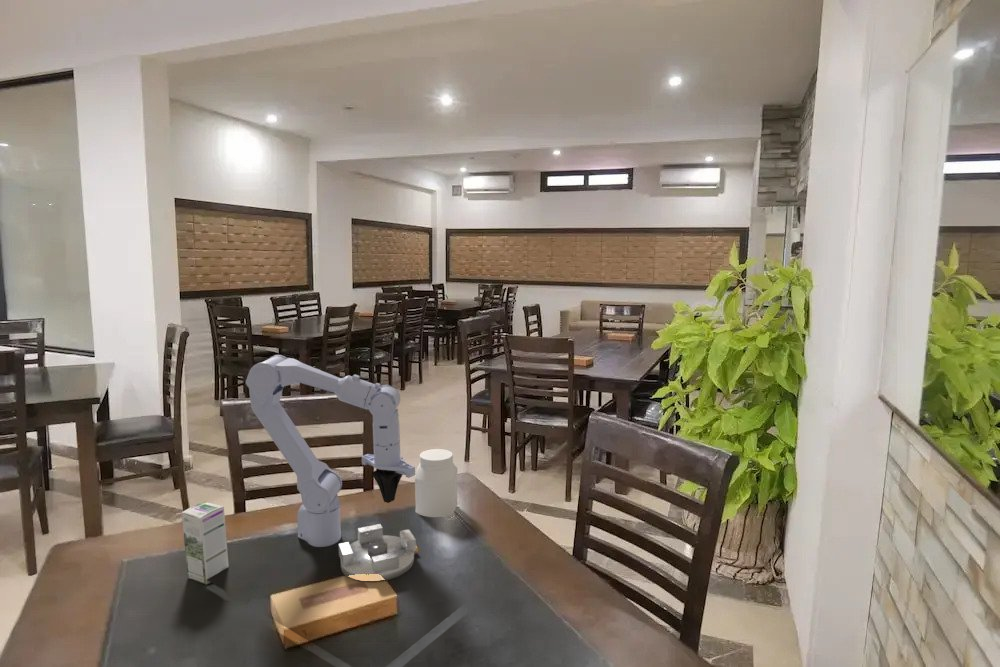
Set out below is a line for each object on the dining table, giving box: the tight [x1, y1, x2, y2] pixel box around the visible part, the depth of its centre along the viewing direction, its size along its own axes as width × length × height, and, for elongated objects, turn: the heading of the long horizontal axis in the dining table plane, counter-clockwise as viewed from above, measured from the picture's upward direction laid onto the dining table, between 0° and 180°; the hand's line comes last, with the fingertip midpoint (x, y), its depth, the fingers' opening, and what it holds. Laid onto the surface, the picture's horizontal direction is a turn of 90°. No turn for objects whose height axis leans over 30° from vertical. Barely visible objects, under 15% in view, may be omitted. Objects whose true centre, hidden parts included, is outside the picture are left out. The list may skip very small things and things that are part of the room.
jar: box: [414, 448, 458, 519], centre depth 149 cm, size 12×10×15 cm
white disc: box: [338, 523, 419, 581], centre depth 124 cm, size 16×15×4 cm
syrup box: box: [181, 501, 230, 585], centre depth 119 cm, size 6×6×14 cm
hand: (389, 500), depth 132 cm, fingers closed
